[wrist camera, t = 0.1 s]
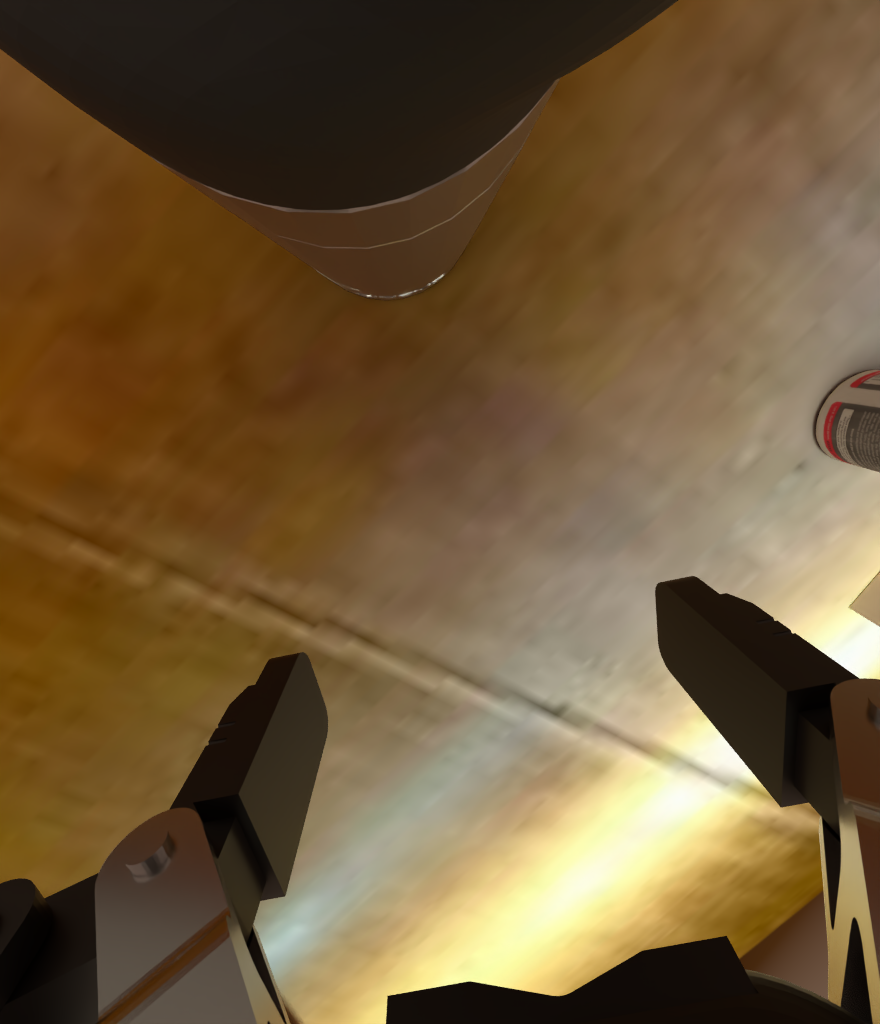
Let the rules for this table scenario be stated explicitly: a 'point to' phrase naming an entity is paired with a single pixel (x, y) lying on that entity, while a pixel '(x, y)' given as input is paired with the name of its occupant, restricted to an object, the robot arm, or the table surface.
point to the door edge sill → (869, 602)
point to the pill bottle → (852, 421)
